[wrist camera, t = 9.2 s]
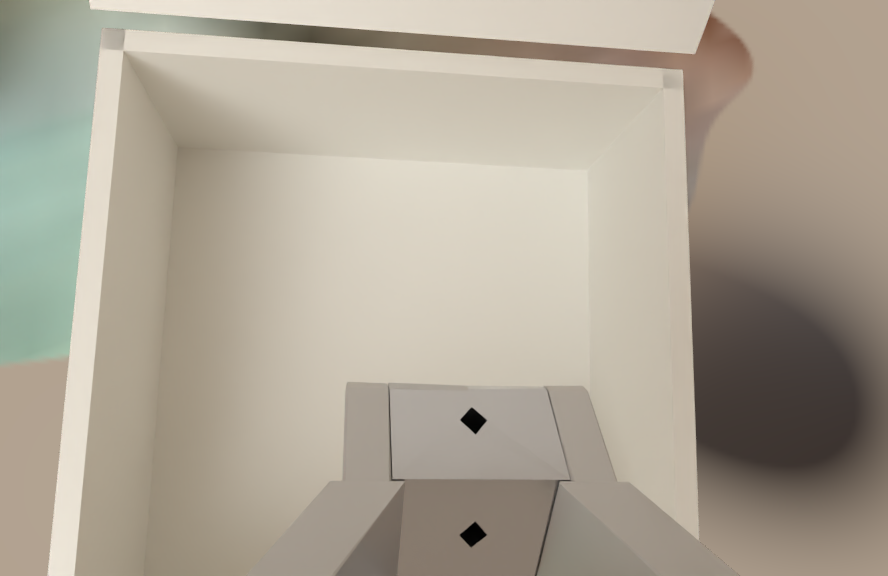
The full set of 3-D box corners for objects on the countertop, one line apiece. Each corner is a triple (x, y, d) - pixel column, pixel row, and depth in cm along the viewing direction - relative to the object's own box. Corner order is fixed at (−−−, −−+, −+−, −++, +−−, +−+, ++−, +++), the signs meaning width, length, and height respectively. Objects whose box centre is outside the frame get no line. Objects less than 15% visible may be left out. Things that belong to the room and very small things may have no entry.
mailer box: (125, 605, 27) (37, 673, 19) (164, 135, 30) (101, 27, 22) (605, 603, 29) (704, 665, 21) (598, 160, 32) (682, 69, 24)
